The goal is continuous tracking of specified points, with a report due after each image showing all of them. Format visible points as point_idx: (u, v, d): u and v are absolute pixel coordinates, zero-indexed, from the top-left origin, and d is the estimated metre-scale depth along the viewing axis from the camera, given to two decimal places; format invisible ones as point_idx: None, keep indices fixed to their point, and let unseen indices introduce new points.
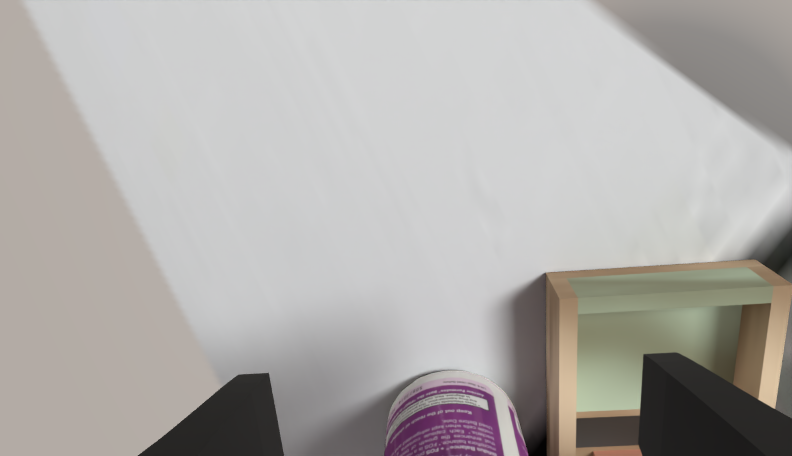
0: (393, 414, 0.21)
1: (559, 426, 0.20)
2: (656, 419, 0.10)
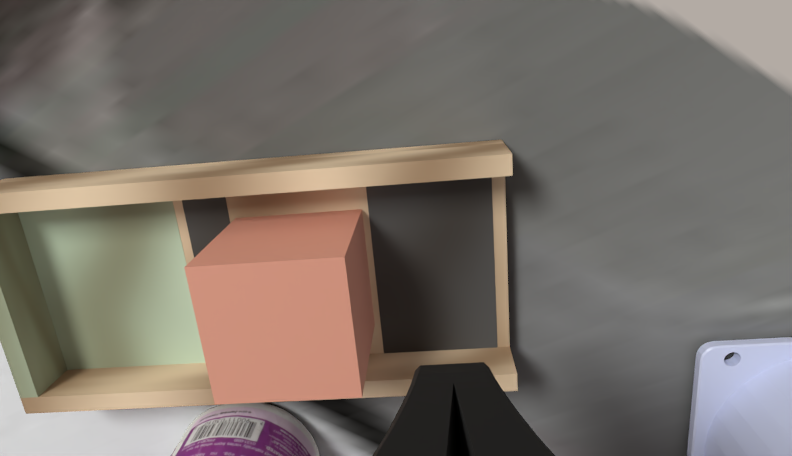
0: None
1: (175, 406, 0.18)
2: None
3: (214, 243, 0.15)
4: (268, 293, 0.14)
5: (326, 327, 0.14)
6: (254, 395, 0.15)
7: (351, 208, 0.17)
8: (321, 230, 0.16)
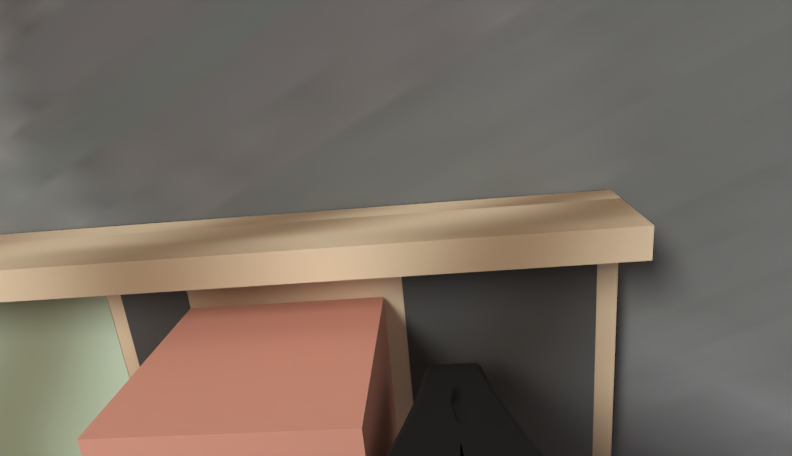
0: None
1: None
2: None
3: (144, 371, 0.09)
4: None
5: None
6: None
7: (377, 294, 0.11)
8: (320, 348, 0.10)
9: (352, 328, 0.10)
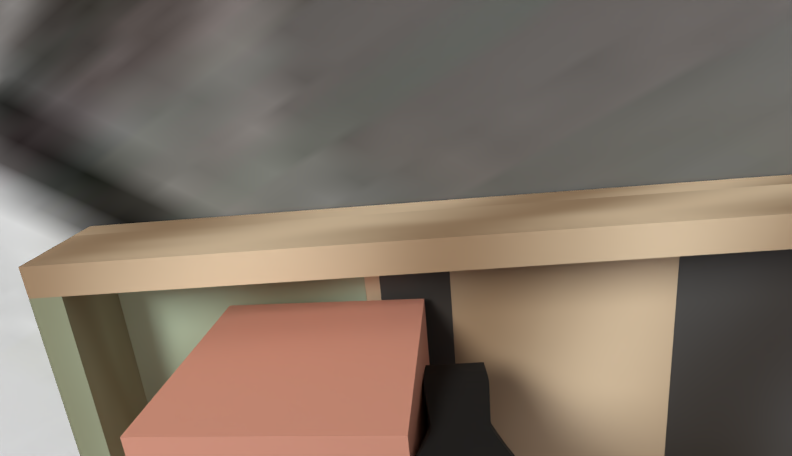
0: None
1: None
2: None
3: (185, 369, 0.09)
4: None
5: None
6: None
7: (649, 275, 0.11)
8: (362, 350, 0.09)
9: (393, 330, 0.10)
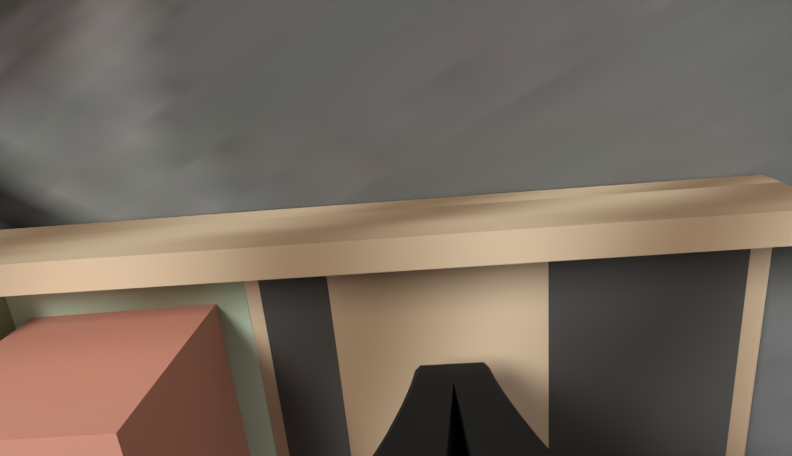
0: None
1: None
2: None
3: None
4: None
5: None
6: None
7: (521, 280, 0.11)
8: (127, 355, 0.10)
9: (167, 335, 0.10)
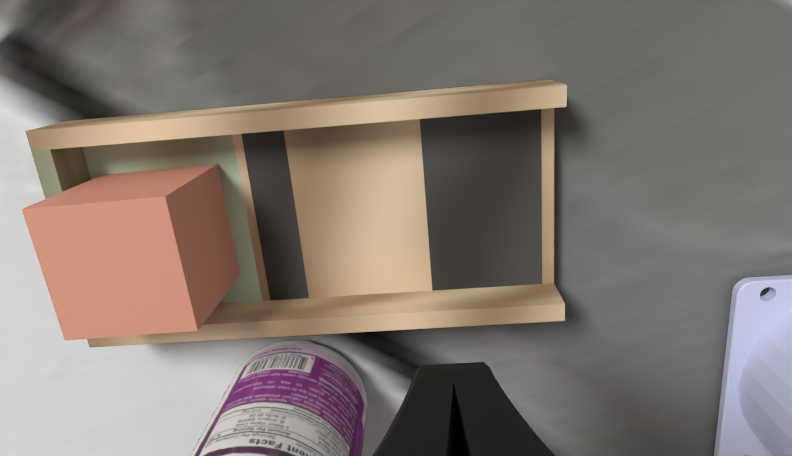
0: None
1: (234, 338, 0.19)
2: None
3: (64, 192, 0.17)
4: (100, 232, 0.15)
5: (158, 264, 0.15)
6: (99, 330, 0.16)
7: (405, 146, 0.18)
8: (165, 180, 0.17)
9: (189, 173, 0.17)
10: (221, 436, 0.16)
